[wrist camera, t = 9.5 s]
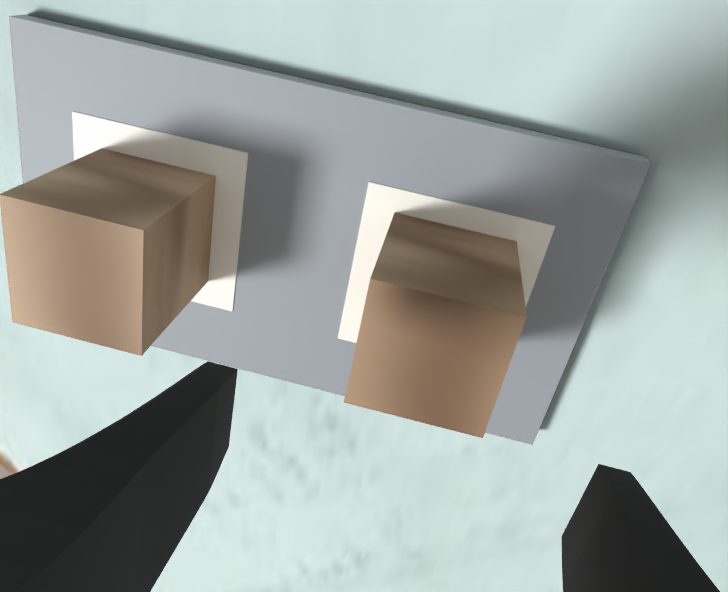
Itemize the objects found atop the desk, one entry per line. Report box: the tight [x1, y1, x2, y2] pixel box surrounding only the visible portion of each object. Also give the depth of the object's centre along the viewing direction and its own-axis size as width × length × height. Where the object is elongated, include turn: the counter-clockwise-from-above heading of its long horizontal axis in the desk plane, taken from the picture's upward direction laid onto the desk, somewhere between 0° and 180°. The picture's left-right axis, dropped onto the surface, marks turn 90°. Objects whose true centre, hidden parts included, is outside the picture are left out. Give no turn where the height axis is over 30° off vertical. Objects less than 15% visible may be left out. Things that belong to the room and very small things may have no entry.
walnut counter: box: [344, 213, 527, 438], centre depth 19 cm, size 4×4×5 cm
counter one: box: [0, 148, 216, 356], centre depth 19 cm, size 4×4×5 cm
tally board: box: [9, 15, 651, 445], centre depth 22 cm, size 20×11×1 cm, turn 79°
